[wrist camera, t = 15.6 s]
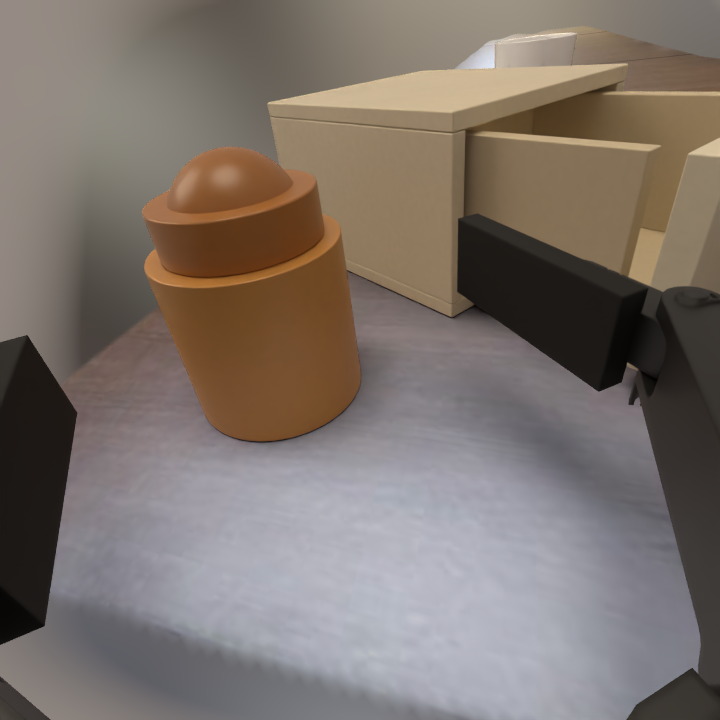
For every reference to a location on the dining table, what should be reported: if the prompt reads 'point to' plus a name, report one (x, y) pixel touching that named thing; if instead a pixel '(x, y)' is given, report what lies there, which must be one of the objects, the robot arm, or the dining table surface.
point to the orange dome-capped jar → (254, 294)
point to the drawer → (609, 181)
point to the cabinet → (411, 161)
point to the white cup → (536, 51)
